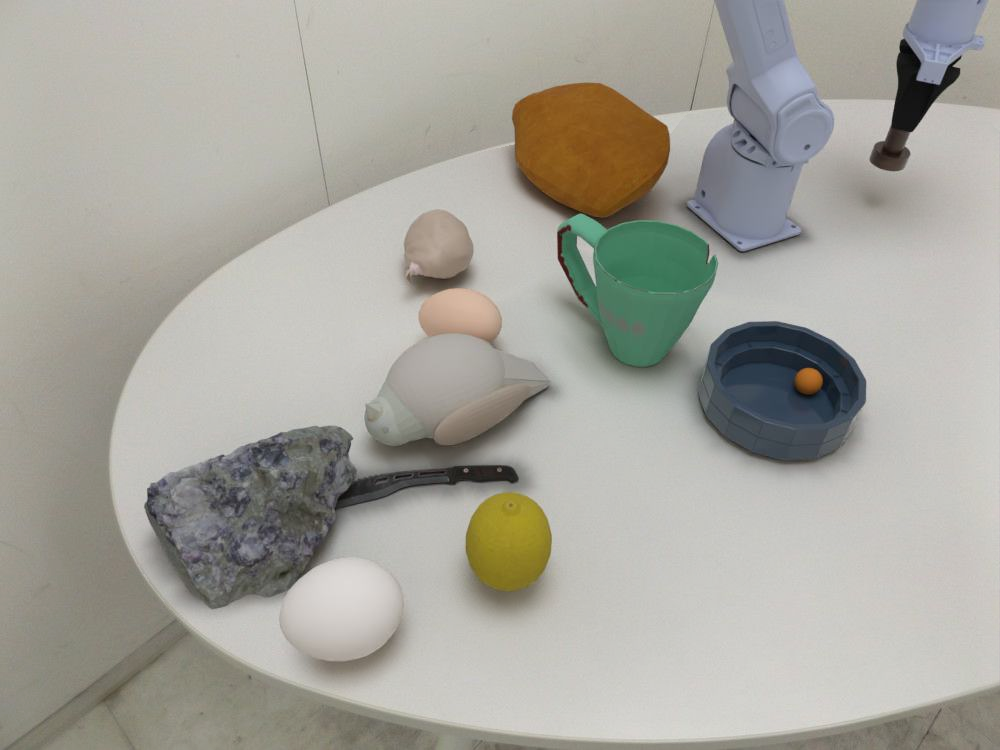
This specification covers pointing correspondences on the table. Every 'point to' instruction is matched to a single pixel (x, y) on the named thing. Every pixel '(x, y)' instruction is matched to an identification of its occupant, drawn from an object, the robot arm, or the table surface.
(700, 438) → the table surface
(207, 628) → the table surface
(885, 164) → the coffee tamper
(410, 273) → the garlic bulb
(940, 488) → the table surface
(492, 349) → the decorative bird
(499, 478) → the knife
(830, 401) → the bowl
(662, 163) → the bread
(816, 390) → the ball
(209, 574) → the mineral rock
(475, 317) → the egg
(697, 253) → the mug
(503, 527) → the lemon
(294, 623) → the egg
